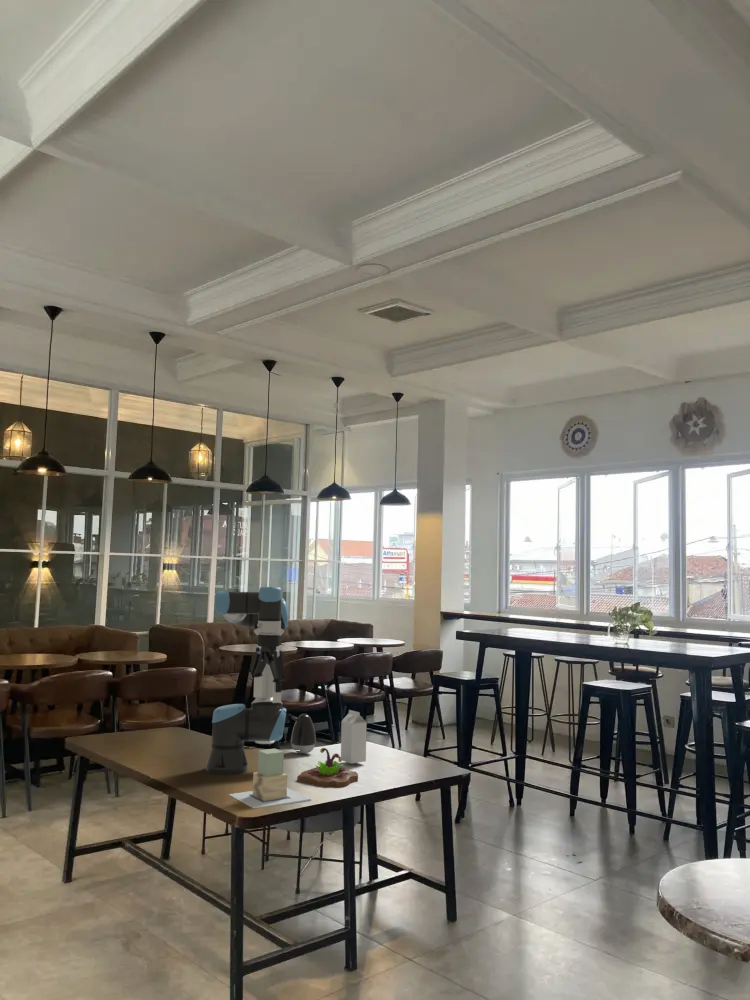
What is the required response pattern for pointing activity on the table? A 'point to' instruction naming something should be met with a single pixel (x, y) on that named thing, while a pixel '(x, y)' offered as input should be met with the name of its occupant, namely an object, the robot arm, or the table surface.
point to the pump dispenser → (303, 734)
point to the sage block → (270, 762)
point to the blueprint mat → (258, 803)
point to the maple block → (269, 786)
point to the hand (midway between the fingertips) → (266, 699)
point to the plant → (328, 774)
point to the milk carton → (353, 738)
